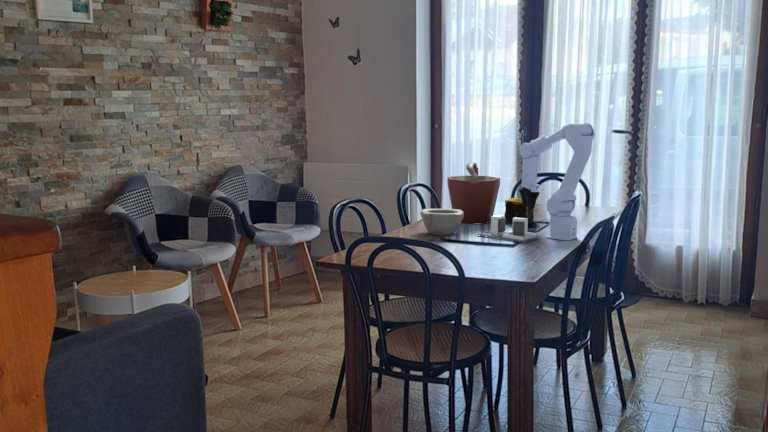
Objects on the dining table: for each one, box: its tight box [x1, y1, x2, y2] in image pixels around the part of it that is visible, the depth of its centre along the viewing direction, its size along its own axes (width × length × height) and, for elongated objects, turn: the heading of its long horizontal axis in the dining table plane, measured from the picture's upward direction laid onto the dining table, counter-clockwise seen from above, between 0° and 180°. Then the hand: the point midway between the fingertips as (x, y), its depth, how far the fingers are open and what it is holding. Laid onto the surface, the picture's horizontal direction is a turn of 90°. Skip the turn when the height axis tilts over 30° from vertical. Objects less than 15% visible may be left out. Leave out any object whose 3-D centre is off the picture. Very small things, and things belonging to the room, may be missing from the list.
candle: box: [504, 197, 535, 225], centre depth 302 cm, size 10×10×10 cm
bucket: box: [446, 162, 501, 225], centre depth 306 cm, size 24×22×25 cm
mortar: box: [420, 208, 464, 236], centre depth 278 cm, size 17×17×9 cm
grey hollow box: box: [477, 214, 539, 243], centre depth 271 cm, size 20×11×8 cm, turn 51°
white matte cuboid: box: [511, 217, 529, 237], centre depth 267 cm, size 4×5×7 cm
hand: (528, 207), depth 282 cm, fingers open, 7 cm apart
